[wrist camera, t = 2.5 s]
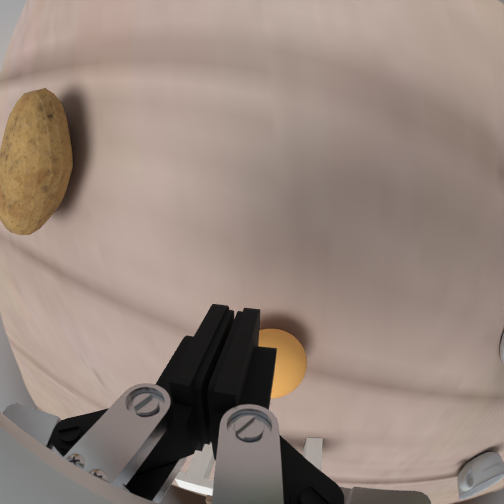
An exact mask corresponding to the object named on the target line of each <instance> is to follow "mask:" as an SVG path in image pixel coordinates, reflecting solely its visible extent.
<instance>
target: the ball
mask: <svg viewBox="0 0 504 504" xmlns="http://www.w3.org/2000/svg"><path fill="white" fill-rule="evenodd" d="M258 346H261V347H270V348H277V354H276V363H275V371H274V379H273V386H272V392H271V398H279V397H282V396H284V395H287V394H289V393H290V392H292V391H293V390H294V389H296V388H297V386H298V385H299V384H300V383H301V381H302V380H303V378H304V375H305V372H306V368H307V358H306V354H305V351H304V348H303V347H302V345H301V343H300V342H299V341H298V340H297V339H296V338H295V337H294V336H293V335H291V334H290V333H288V332H285V331H283V330H279V329H263V330H259V343H258Z"/></svg>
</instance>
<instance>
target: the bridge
mask: <svg viewBox="0 0 504 504" xmlns="http://www.w3.org/2000/svg"><path fill="white" fill-rule="evenodd" d="M322 441H323V438H308V437H307V439H306V442H305V445H304V448H303V457H305V458H306V459H307V460H308V461H309V462H310V463H312V464H313V465H314V466H315V467H316V468H318V469H319V470H320V471H321V465H322ZM214 462H215V459H214V455H213V449H212V443H210V445H208V444H204V447H203V450H202V451H198V450H196V452H195V454H194V456H193V459H192V461H191V464H190V466H189V468H188V471H187V473H184V472H181V471H179V473H178V474H177V476H176V477H175V480H176V481H177V483H178V485H179V487H182V488H185V489H188V490H192V491H195V492H199V493H203V494H207V495H211V496H212V494H213V484H214V480H210V479H209V476H210V473H211V470H212V467H213V464H214Z"/></svg>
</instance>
